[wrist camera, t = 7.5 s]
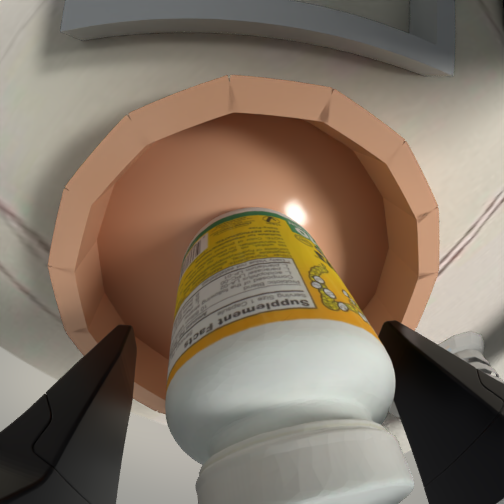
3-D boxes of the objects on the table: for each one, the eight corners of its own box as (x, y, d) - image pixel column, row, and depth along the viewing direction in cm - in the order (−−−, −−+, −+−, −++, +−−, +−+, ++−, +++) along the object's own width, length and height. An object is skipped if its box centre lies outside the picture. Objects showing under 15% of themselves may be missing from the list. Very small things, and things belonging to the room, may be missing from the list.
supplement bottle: (162, 227, 11) (89, 501, 3) (305, 187, 11) (494, 403, 3) (207, 335, 14) (218, 555, 5) (324, 304, 14) (419, 505, 5)
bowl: (420, 118, 11) (474, 129, 8) (353, 364, 17) (374, 408, 14) (77, 88, 9) (32, 87, 6) (111, 368, 15) (99, 418, 12)
